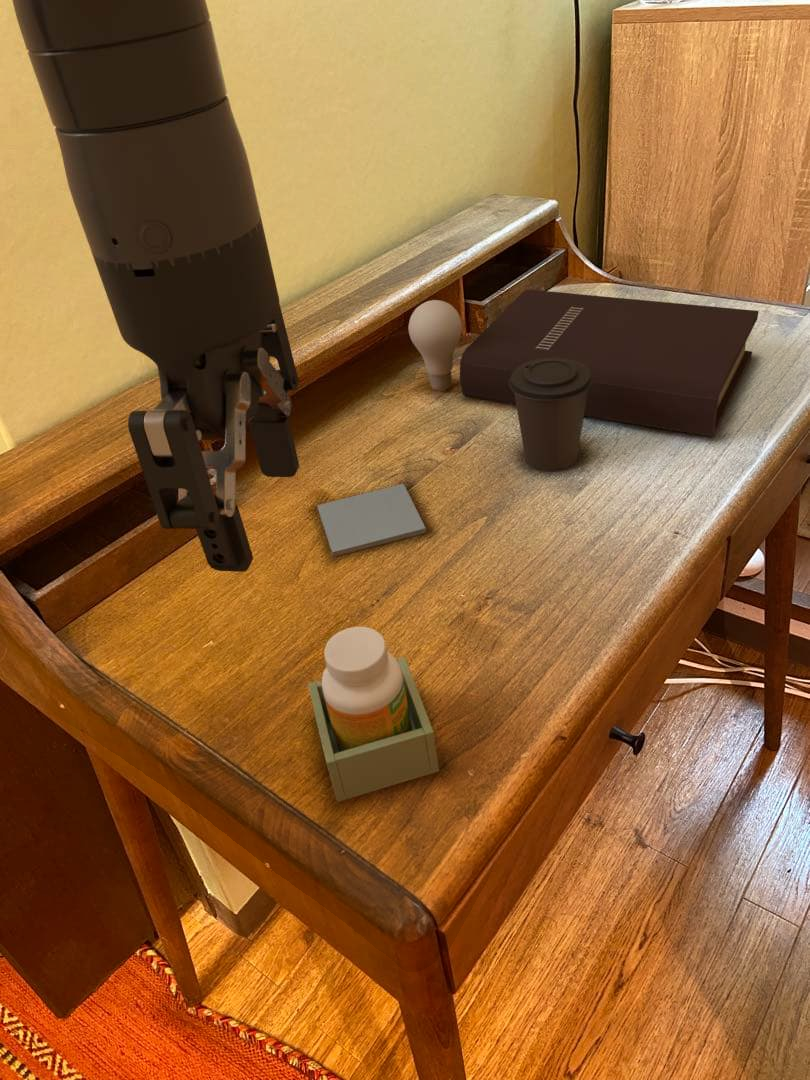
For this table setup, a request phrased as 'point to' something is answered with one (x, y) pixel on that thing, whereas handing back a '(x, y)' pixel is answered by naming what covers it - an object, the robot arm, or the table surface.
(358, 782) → the caddy
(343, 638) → the supplement bottle
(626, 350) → the book
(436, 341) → the lightbulb
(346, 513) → the mat
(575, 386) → the coffee cup
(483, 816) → the table surface
